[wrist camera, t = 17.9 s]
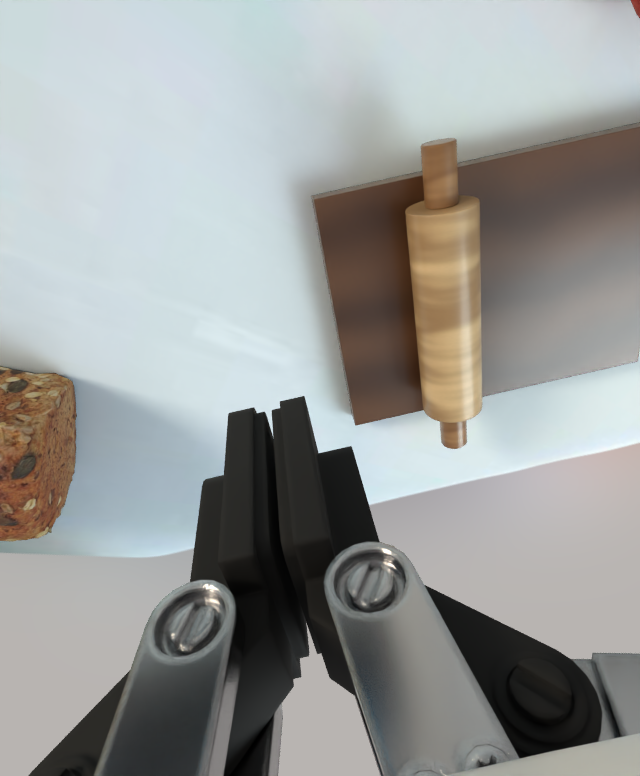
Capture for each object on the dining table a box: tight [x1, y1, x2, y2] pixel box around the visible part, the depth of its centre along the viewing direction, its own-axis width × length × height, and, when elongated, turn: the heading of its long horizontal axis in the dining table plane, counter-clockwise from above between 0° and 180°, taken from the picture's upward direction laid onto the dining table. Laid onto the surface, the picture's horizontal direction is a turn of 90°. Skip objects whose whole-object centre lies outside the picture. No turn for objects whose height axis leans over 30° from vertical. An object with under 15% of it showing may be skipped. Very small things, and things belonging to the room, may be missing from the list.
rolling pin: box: [405, 138, 482, 449], centre depth 33 cm, size 22×4×4 cm, turn 10°
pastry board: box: [311, 122, 640, 425], centre depth 36 cm, size 18×24×2 cm
